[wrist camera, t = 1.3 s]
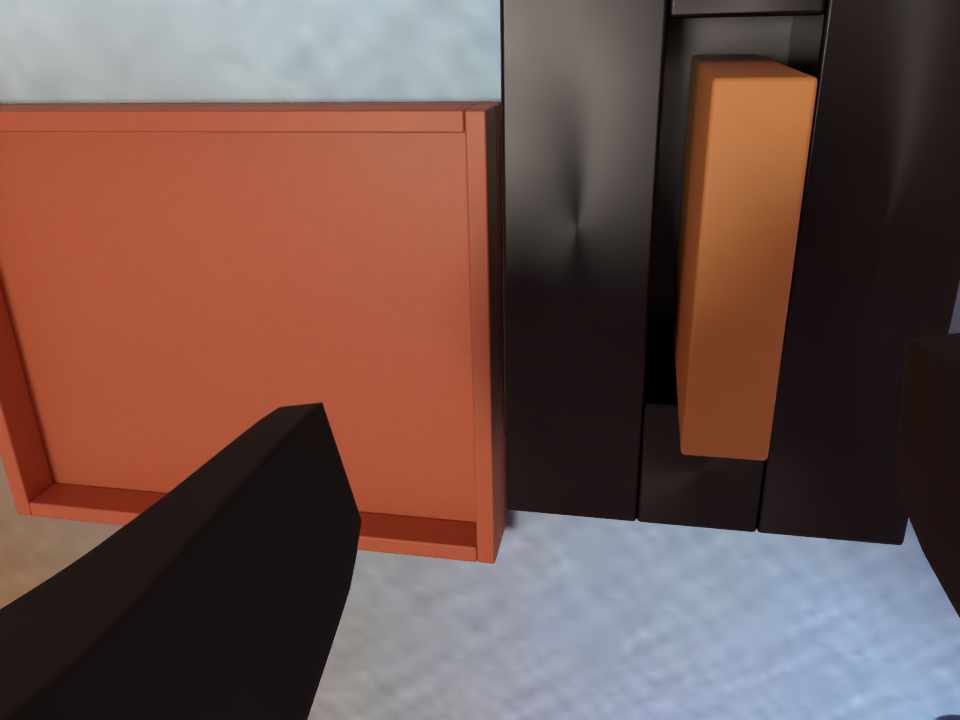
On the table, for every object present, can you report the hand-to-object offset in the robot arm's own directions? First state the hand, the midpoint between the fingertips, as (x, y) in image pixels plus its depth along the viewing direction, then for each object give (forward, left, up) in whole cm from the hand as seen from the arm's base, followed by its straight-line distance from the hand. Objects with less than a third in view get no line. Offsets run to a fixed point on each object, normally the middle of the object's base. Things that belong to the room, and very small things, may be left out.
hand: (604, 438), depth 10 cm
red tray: (+11, +3, -11) cm, 15 cm away
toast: (-2, -1, -10) cm, 10 cm away
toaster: (-2, -1, -11) cm, 11 cm away
